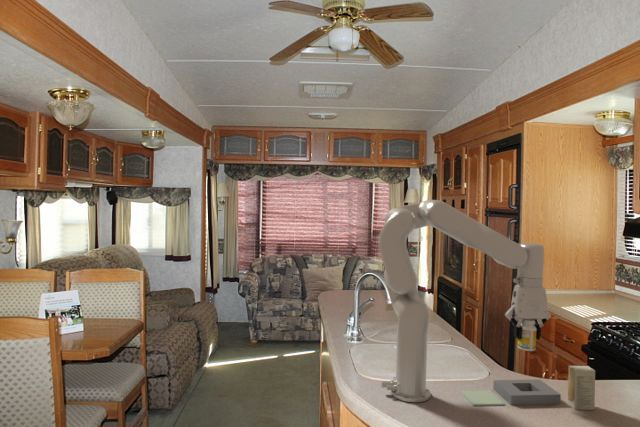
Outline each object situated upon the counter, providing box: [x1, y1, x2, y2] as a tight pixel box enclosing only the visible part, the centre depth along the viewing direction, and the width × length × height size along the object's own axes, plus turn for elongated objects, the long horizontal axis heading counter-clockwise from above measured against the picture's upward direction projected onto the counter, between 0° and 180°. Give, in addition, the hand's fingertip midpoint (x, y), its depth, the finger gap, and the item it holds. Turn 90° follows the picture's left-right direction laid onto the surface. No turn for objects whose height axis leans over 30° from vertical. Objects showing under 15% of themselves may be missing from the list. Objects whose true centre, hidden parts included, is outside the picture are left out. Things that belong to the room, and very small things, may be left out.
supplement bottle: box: [517, 319, 537, 352], centre depth 153 cm, size 5×5×10 cm
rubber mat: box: [460, 389, 506, 407], centre depth 151 cm, size 10×10×1 cm
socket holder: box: [492, 379, 562, 406], centre depth 153 cm, size 16×12×3 cm
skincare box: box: [567, 365, 596, 411], centre depth 146 cm, size 6×4×12 cm
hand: (527, 337), depth 153 cm, fingers closed on supplement bottle, 5 cm apart
